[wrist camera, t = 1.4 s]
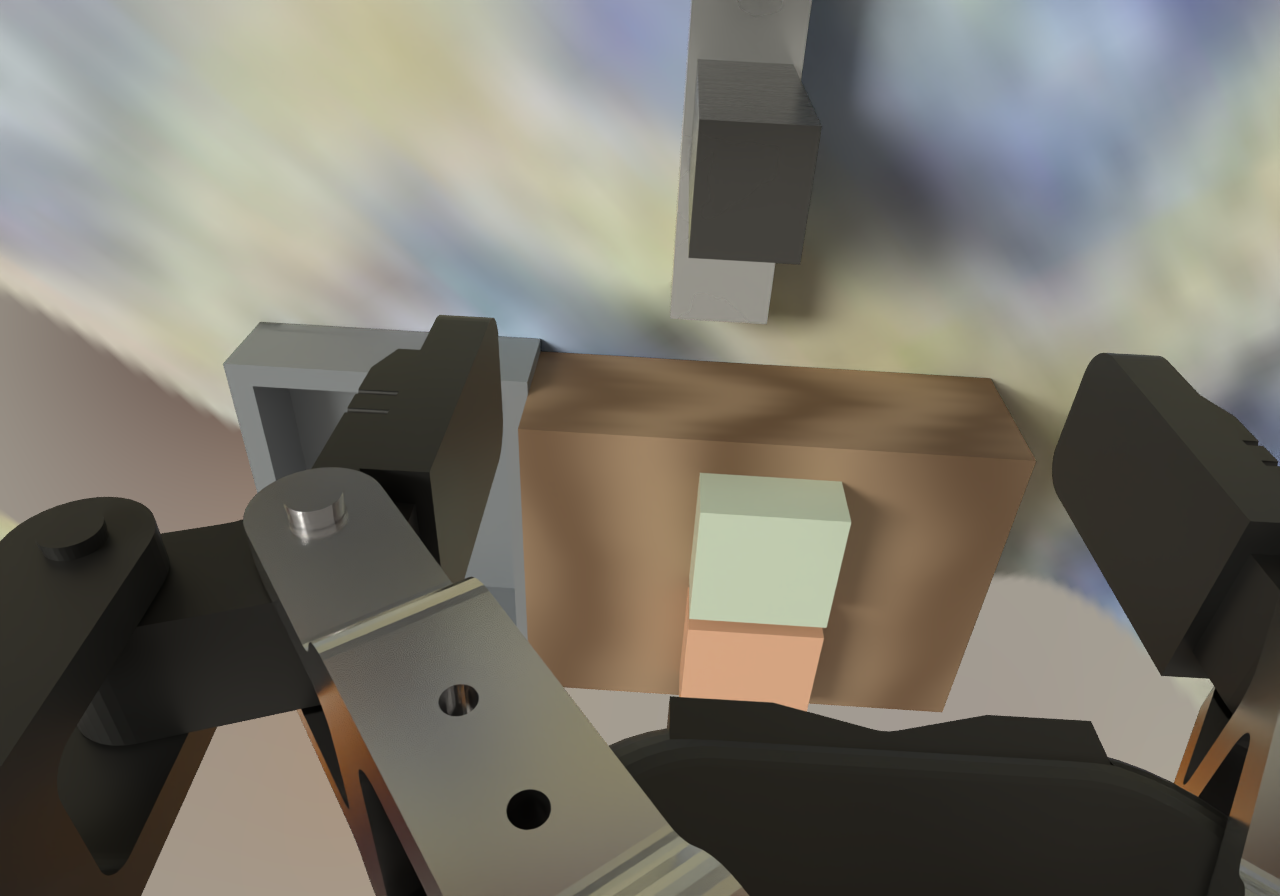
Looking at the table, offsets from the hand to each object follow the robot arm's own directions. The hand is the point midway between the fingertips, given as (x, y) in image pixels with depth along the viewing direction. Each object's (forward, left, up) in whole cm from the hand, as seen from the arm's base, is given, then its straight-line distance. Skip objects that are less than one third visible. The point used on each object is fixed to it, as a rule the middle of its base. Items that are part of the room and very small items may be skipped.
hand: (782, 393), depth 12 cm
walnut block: (-2, +15, -17) cm, 23 cm away
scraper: (0, 0, -17) cm, 17 cm away
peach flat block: (-2, +17, -12) cm, 21 cm away
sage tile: (-2, +12, -12) cm, 17 cm away
